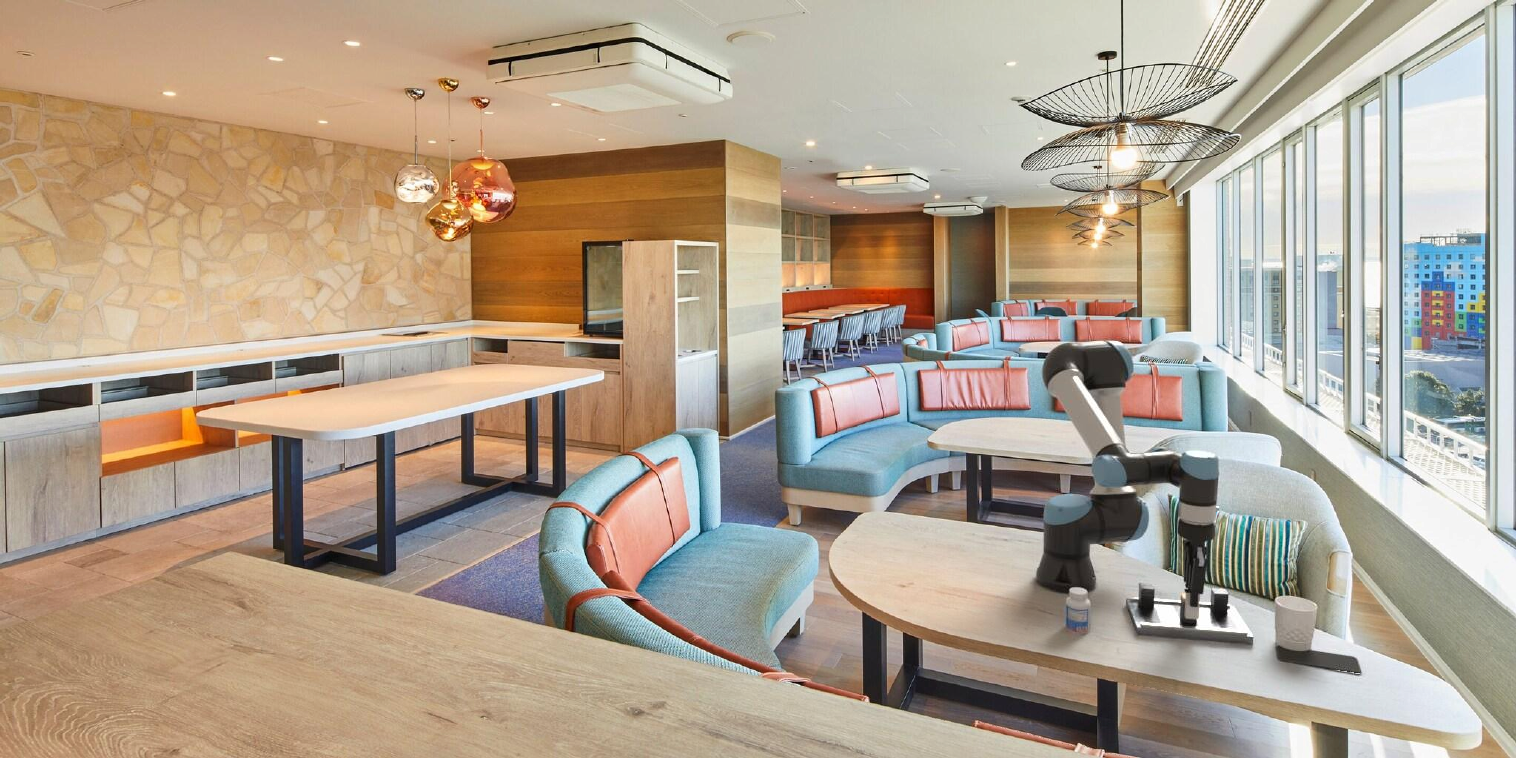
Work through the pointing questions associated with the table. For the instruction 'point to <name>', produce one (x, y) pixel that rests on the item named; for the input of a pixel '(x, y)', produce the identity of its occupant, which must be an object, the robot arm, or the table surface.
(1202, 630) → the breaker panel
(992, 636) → the table surface
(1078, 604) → the pill bottle
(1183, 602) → the breaker
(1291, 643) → the white cup
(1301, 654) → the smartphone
